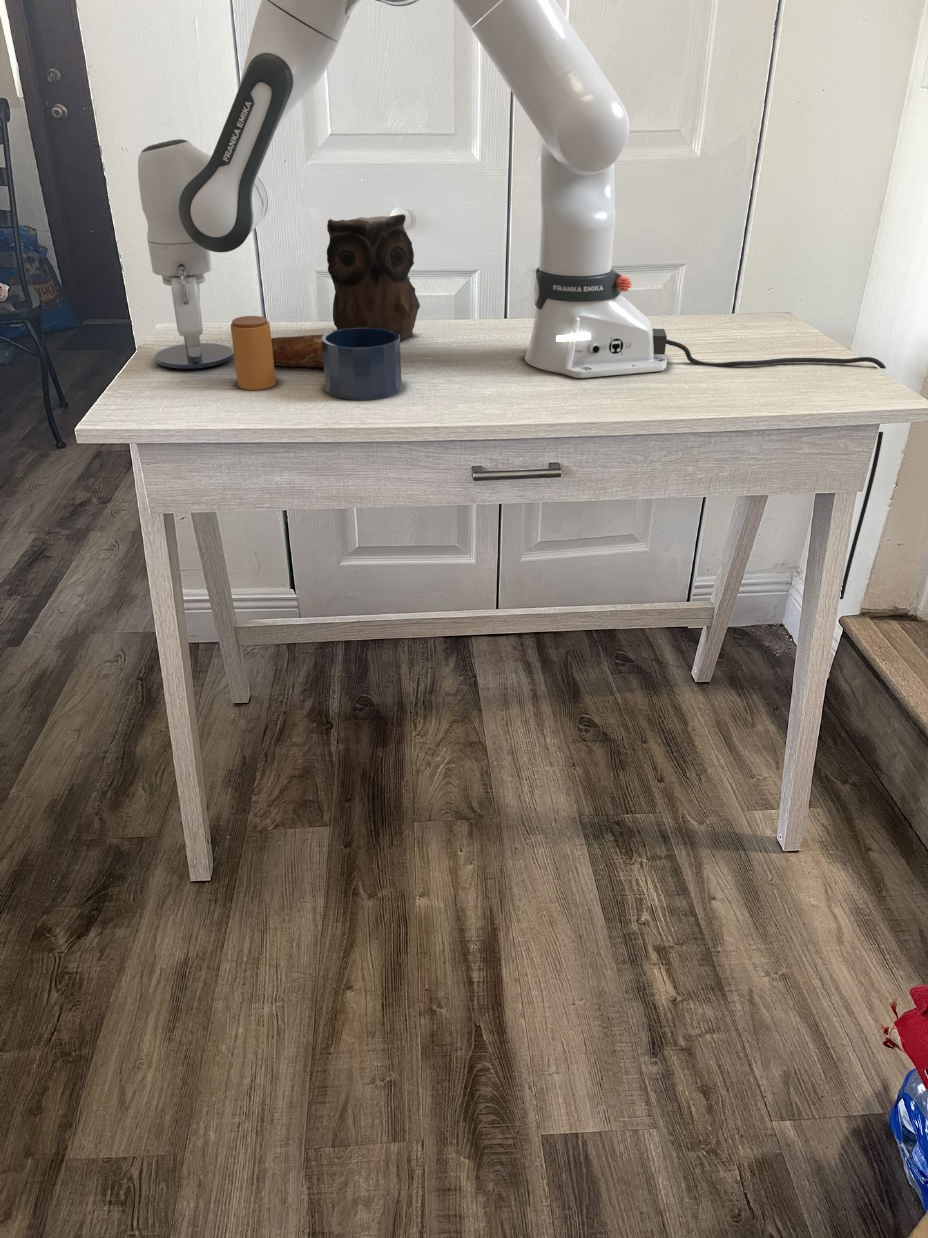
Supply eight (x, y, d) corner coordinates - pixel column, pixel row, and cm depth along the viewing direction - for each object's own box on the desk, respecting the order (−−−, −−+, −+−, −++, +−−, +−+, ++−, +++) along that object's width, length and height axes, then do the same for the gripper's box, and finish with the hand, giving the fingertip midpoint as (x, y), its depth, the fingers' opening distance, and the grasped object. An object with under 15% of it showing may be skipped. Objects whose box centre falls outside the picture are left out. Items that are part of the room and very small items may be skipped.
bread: (361, 374, 146) (359, 338, 143) (244, 368, 149) (239, 332, 146) (371, 362, 151) (369, 327, 148) (258, 356, 154) (254, 321, 151)
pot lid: (238, 349, 158) (234, 319, 155) (228, 371, 147) (224, 340, 145) (163, 350, 157) (158, 321, 154) (149, 373, 146) (143, 342, 144)
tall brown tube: (277, 378, 144) (270, 314, 139) (274, 389, 140) (267, 324, 135) (240, 378, 144) (232, 315, 139) (235, 390, 139) (227, 325, 134)
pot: (400, 375, 146) (398, 326, 142) (402, 399, 136) (400, 347, 132) (327, 377, 145) (323, 327, 141) (324, 401, 135) (320, 348, 131)
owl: (423, 335, 165) (420, 212, 154) (380, 353, 156) (375, 223, 145) (364, 325, 170) (358, 206, 160) (320, 342, 161) (310, 216, 151)
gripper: (204, 271, 136) (217, 367, 143) (200, 245, 153) (212, 332, 160) (158, 274, 134) (174, 370, 142) (159, 247, 151) (173, 334, 159)
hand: (194, 349), depth 151 cm, fingers open, 5 cm apart
